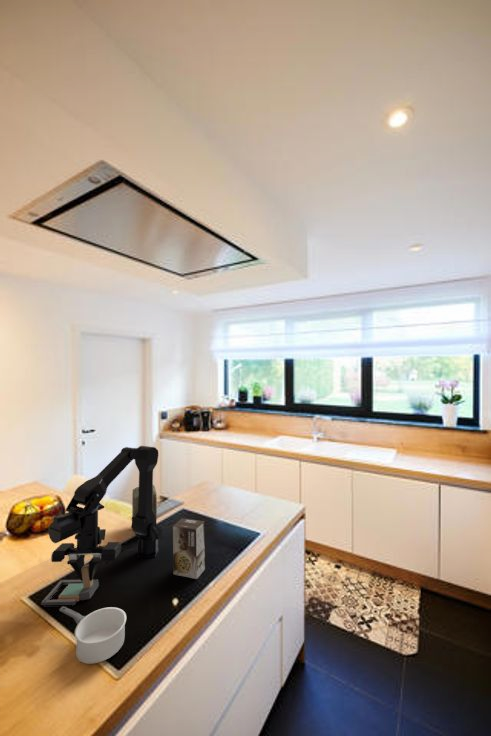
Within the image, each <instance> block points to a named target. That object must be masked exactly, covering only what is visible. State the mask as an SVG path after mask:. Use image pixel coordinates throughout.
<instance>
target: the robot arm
mask: <svg viewBox="0 0 491 736" xmlns="http://www.w3.org/2000/svg"><path fill="white" fill-rule="evenodd" d="M158 460H159V450H158V449H157V447H154V446H148V445H147V446H146V445H139V446H138V447H128V446H125V447H123V448H122V449H121V450H120V452H119V453H118V454H117V455H116V456H115V457H114V458H112V460H111V461H110V462H109V463H108V464H107V465H106V466H105V467H104V468H103V469H102V470H101V471H100V472H99V473H98V474H97V475H96V476H94V477H92V478H90V479H88V480H86V481H85V482H83V483H82V484H80V485H79V486H78V487H77V488H76V489H75V490H74V491H73V492H74V493H73V496H72V498H71V500H70V501H69V503H68V504H67V506H66V508H65V512H66V513H64V514H63V513H62V514H60V515H59V514H58V515H56V516H54V517H53V518H52V519H53V521H51V523H50V524H49V527H48V529H47V530H48V536H49V539H50V541H51V542H52V543H54V544H57V543H60V542H62V541H64V540H67V539H69V538H71V537H73V536H74V540H76V547H75V543H74V542H64V543H61V544H60V545H59V546H58V547H57V548H55V550H53V551H52V553H51V562H52V563H62V561H64V560H65V558H66V556H68V561H66V564H67V565H70V566H71V568H72V569H73V571H75V573H76V575H77V576H78V577H79V580H81V581H83V579H82V572H81V568H82V567H83V566H84V565H85V558H86V555H89V556H90V555H92V558H91V559H90V561H89V562H88V564H89V578H90V581H92V579H93V580H94V576H95V573H96V571H97V568H98V565H99V564H100V563H101V562H102V560H103V561H115V560H116V558H117V557H118V556H119V554H120V553H121V552H122V544H121V542H120V541H108V542H107V543H106V544H105V545H101V544H102V541H105V539H106V532H107V529H106V528H103V529H102V528H100V526H99V511H100V510H103V509H104V508H105V505H103V504H102V503H101V501H102V500H103V498H104V497H105V495H106V493H107V490H108V488H109V486H110V485H111V483H112V482H113V481H115V479H116V478H117V477H118V476H119V475H120V474H121V473H122V472H123V470H125V469H126V468H127V466H129V464H130V463H131V462H132V461H134V464H135V465H136V467H137V469H138V487H139V495H138V511H137V513H136V515H135V516H131V526H130V528H131V529H132V532H133V533H134V535H135V537H137V538H138V541H137V546H136V547H137V552H136V553H137V558H155V557H156V556H157V553H158V552H159V549H160V546H159V539H160V537H162V533H163V529H162V528H161V527H160V526H159V525H157V519H156V516H155V514H154V512H153V510H152V490H153V485H154V482H153V481H154V469H155V468H156V466H157V465H158V462H159V461H158ZM78 505H80V506H78ZM81 505H82V506H84V507H81Z"/></svg>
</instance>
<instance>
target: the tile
mask: <svg viewBox="0 0 491 736" xmlns="http://www.w3.org/2000/svg"><path fill="white" fill-rule="evenodd" d="M83 588H84V586H83V583H76V584H68V586H65V588H64V589H63V590H62V592H61V593H60V594H59V595H58V597H57V600H58V599H77V602H80V598H79V593H80V592H81V590H82V589H83Z"/></svg>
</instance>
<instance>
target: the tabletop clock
mask: <svg viewBox="0 0 491 736" xmlns="http://www.w3.org/2000/svg"><path fill="white" fill-rule="evenodd" d="M156 490H157V489H156V486H155V484H153V490H152V510H153V512H154V514H155V516H156V520H157V515H158V512H157V507H158V506H157V500H158V499H157V491H156ZM131 495H132V503H131V504H132V509H131V510H132V511H131V513H132V516H135V515H136V513H137V511H138V495H139V486H136V487H134V488H133V489H132V494H131ZM132 516H131V517H132Z"/></svg>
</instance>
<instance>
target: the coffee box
mask: <svg viewBox="0 0 491 736" xmlns="http://www.w3.org/2000/svg"><path fill="white" fill-rule="evenodd" d="M205 537H206V535H205V520H199V519H198V520H197V519H191V518H183V517H182V518H180V520H178V521H177V522H176V523H175V524H173V526H172V555H173V556H172V559H173V560H172V565H173V566H172V569H173V570H172V572H173V573H172V574H173V575H175V576H180V577H184V578H185V577H186V578H190V579H195V580H198V579H199V578H200V577H201V575H202V573H203V572H204V571H205V570H206V563H205V562H206V559H205V558H206V554H205V553H206V552H205V549H206V548H205V541H206V539H205Z"/></svg>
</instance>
